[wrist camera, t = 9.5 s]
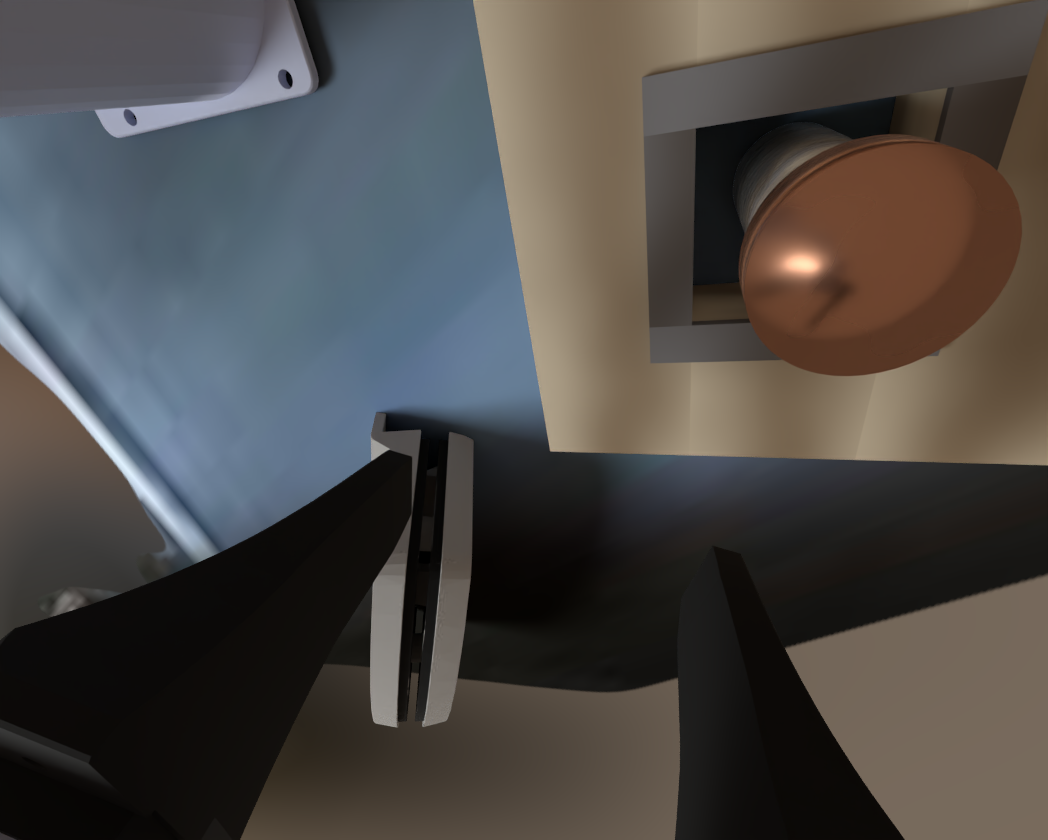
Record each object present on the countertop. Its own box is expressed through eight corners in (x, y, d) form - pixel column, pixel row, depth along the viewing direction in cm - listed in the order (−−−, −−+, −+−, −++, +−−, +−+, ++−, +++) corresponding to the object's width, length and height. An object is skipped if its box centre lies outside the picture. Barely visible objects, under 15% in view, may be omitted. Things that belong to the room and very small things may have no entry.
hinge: (375, 405, 24) (330, 591, 16) (474, 413, 25) (475, 594, 17) (378, 598, 34) (351, 768, 26) (447, 599, 35) (441, 764, 27)
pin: (714, 251, 16) (736, 377, 10) (722, 116, 14) (755, 162, 8) (848, 241, 15) (972, 375, 9) (877, 92, 13) (1070, 123, 7)
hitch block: (565, 408, 21) (548, 456, 19) (497, -70, 13) (451, -102, 10) (1002, 408, 17) (1061, 471, 14) (1312, -321, 9) (1586, -490, 6)
